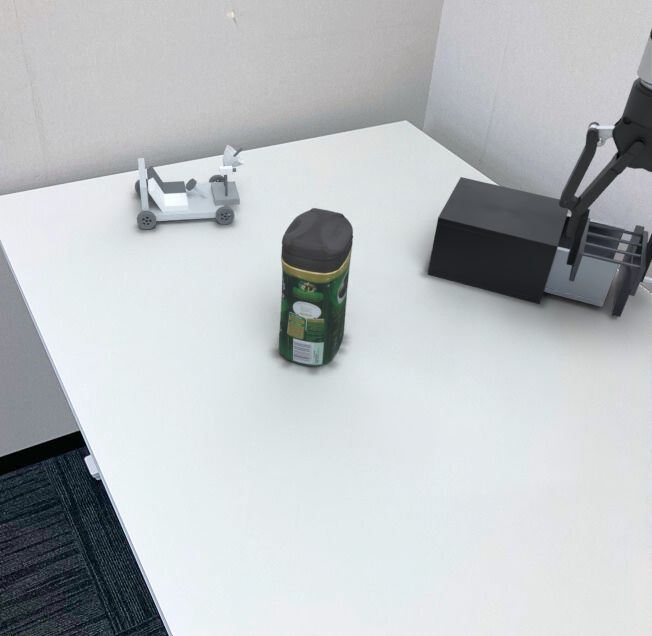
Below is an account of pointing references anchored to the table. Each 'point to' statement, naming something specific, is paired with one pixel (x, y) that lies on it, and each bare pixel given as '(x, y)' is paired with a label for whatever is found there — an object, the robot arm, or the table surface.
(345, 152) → the table surface
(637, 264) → the rack
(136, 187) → the toy car
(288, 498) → the table surface
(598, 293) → the grey drawer
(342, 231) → the coffee jar
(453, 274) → the box
